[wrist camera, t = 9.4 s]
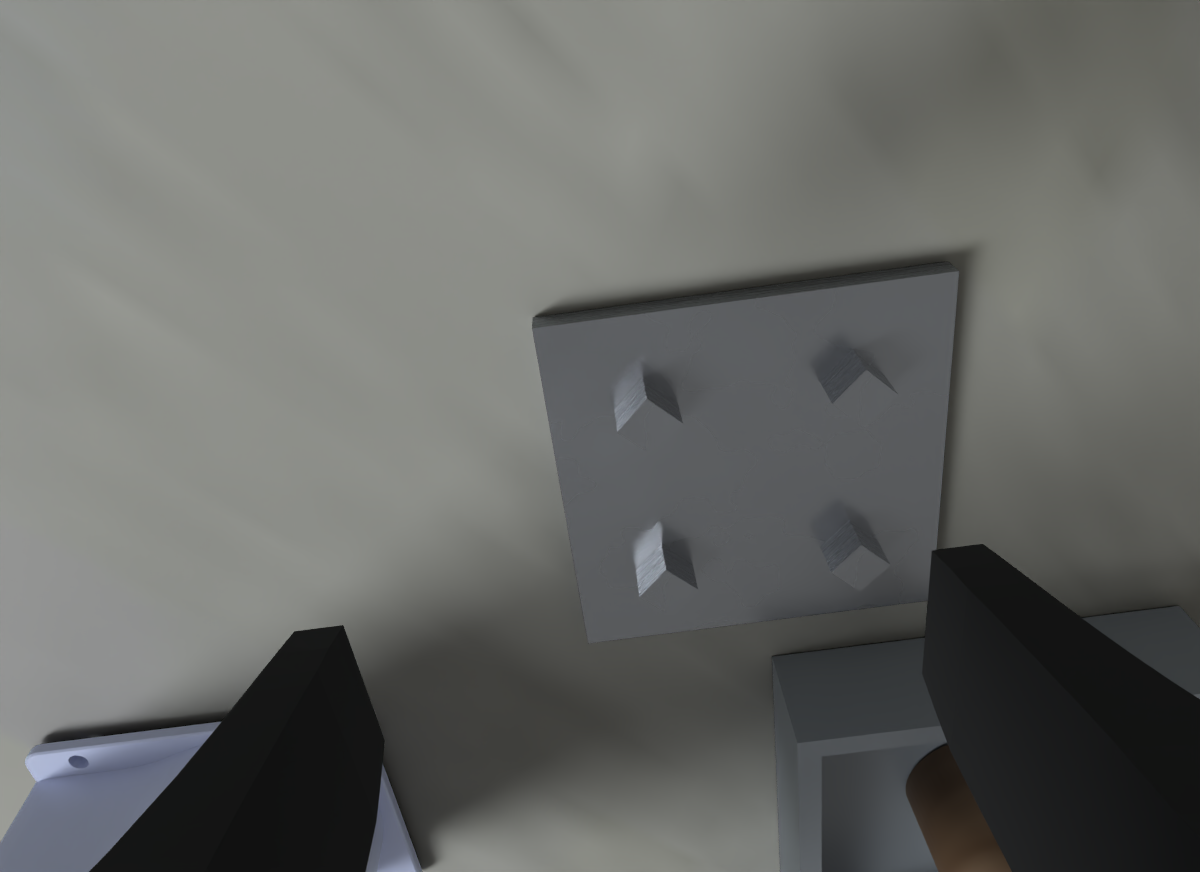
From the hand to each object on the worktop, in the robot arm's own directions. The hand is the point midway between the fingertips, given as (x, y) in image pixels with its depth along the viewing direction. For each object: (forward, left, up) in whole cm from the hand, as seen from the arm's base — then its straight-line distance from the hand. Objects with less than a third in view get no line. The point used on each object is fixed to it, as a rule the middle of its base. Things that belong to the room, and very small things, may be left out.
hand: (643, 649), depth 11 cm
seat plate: (+3, -4, -10) cm, 11 cm away
